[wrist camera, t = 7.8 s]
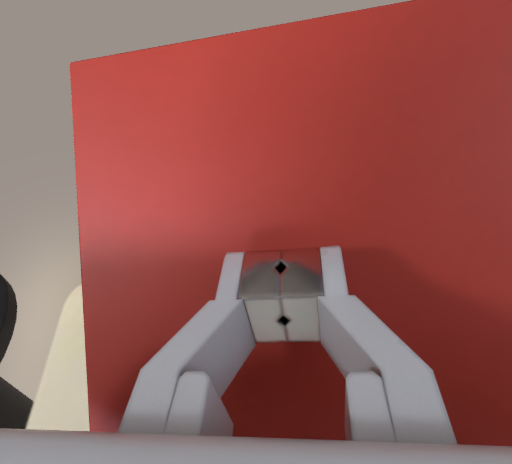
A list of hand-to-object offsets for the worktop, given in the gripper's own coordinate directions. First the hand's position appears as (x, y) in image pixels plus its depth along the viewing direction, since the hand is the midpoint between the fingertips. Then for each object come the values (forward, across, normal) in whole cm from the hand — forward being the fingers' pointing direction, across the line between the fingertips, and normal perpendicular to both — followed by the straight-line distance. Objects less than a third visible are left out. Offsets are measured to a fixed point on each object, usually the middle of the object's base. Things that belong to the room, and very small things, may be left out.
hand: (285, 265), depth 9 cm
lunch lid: (0, 0, +2) cm, 2 cm away
